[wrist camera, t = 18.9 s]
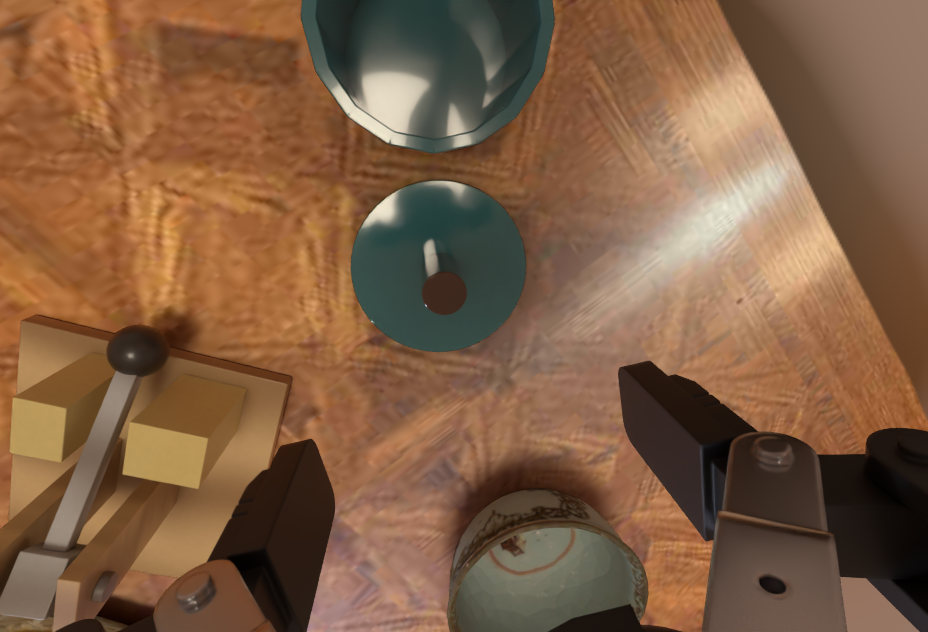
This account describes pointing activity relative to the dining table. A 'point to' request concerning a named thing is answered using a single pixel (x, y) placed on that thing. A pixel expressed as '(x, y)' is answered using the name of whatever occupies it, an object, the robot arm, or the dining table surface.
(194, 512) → the wooden lever switch base
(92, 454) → the ball tipped lever
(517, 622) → the bowl
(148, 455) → the pale yellow oblong block
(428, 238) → the crock lid
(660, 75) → the dining table surface
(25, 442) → the yellow rectangular block
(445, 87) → the crock
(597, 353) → the dining table surface
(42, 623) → the cake
